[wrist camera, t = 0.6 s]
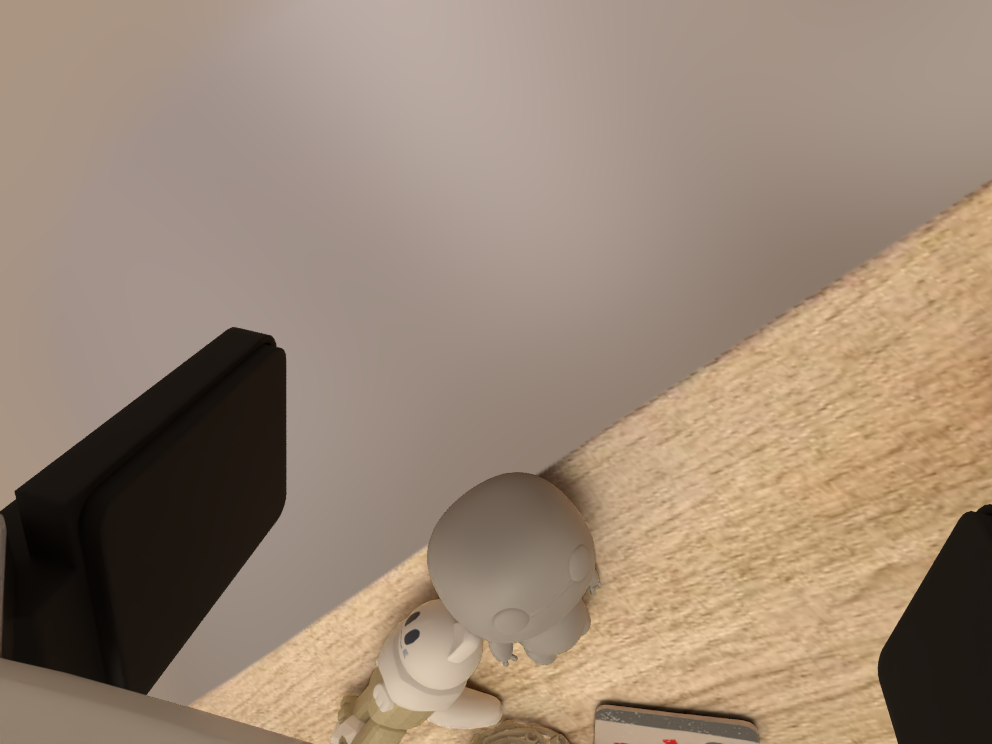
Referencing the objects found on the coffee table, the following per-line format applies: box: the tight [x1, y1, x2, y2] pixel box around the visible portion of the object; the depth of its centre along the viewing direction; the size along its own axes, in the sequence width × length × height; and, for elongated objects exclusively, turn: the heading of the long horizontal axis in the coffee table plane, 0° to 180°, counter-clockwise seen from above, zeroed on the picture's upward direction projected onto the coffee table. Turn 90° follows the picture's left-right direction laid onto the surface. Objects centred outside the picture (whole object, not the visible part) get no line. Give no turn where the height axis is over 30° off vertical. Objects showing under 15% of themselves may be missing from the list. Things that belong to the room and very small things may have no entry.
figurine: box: [427, 472, 601, 667], centre depth 37 cm, size 8×8×12 cm
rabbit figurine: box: [331, 599, 502, 744], centre depth 45 cm, size 5×10×18 cm
